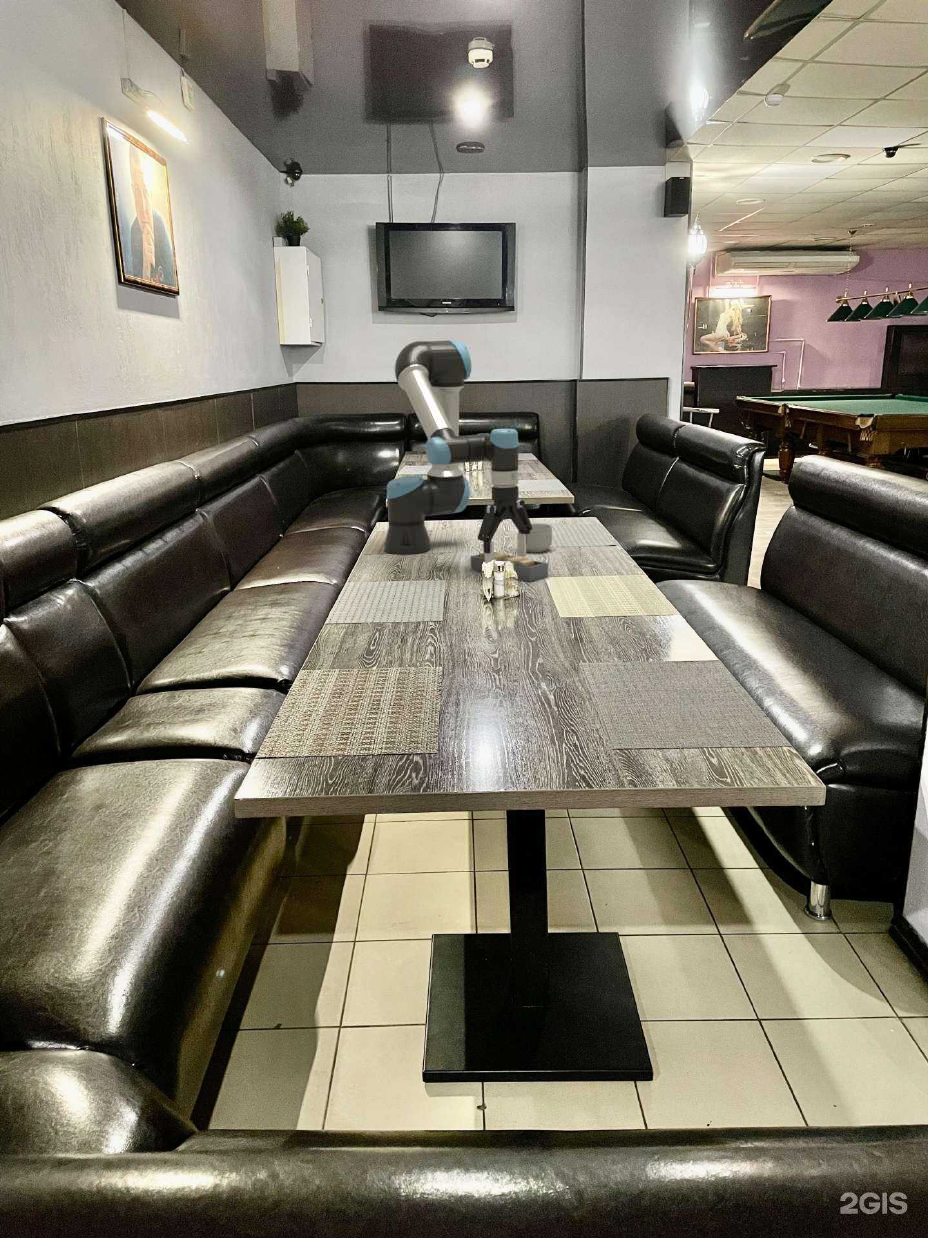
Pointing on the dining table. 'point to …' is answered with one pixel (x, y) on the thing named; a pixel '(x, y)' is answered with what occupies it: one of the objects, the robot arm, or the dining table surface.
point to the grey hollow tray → (532, 571)
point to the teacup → (539, 537)
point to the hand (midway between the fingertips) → (505, 560)
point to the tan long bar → (511, 559)
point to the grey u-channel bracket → (477, 562)
